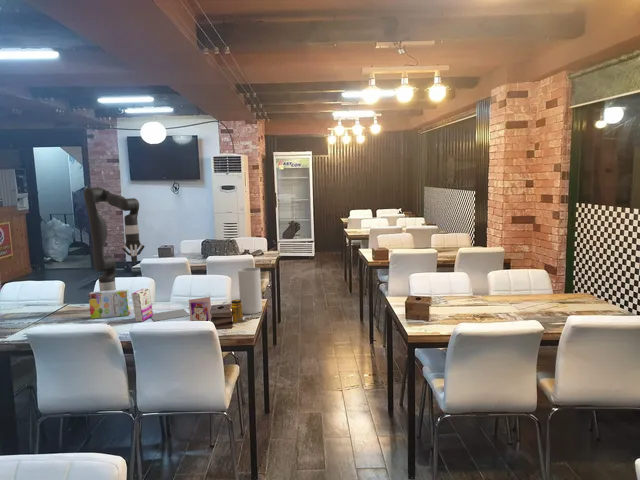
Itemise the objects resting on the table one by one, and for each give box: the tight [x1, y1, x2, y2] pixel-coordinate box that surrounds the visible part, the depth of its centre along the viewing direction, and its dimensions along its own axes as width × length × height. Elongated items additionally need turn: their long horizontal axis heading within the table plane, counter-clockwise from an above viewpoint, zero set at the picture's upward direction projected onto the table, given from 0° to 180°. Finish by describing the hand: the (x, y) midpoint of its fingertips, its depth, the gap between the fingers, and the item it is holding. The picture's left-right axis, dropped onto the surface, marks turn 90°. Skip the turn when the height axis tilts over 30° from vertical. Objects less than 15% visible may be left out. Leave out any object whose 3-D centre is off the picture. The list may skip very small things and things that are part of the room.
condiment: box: [230, 298, 249, 325], centre depth 274 cm, size 7×8×12 cm
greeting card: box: [188, 296, 212, 322], centre depth 267 cm, size 11×7×15 cm, turn 82°
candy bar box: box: [131, 287, 154, 323], centre depth 285 cm, size 11×5×16 cm, turn 169°
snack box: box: [88, 288, 131, 320], centre depth 295 cm, size 21×6×15 cm, turn 100°
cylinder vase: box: [237, 267, 263, 315], centre depth 292 cm, size 12×12×25 cm
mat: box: [150, 308, 190, 322], centre depth 292 cm, size 20×17×1 cm
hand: (134, 262), depth 295 cm, fingers closed
